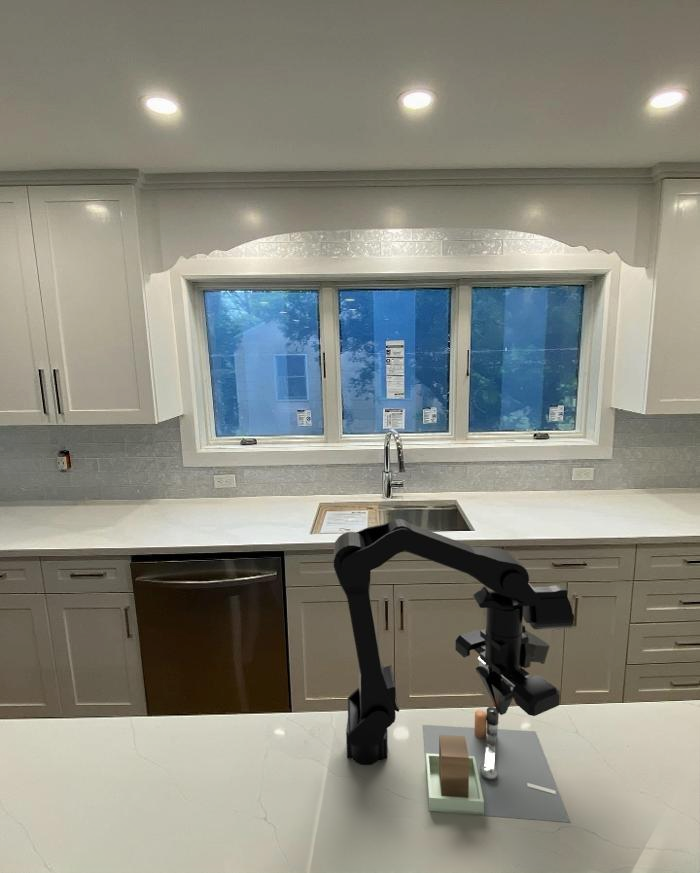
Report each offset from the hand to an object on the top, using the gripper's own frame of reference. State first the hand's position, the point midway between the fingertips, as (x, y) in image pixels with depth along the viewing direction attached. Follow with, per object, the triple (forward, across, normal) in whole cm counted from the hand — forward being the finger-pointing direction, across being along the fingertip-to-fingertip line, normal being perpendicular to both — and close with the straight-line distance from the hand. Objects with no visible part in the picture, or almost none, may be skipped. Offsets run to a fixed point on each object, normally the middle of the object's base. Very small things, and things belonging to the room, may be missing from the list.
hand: (501, 713), depth 77 cm
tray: (+6, -3, +12) cm, 14 cm away
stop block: (+6, -3, +12) cm, 14 cm away
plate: (+7, -2, +5) cm, 9 cm away
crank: (+6, -1, +3) cm, 7 cm away
